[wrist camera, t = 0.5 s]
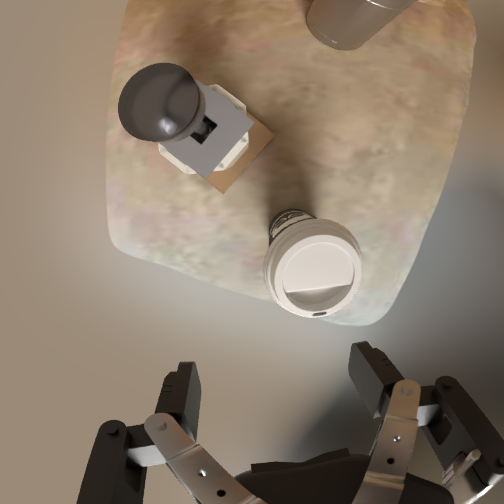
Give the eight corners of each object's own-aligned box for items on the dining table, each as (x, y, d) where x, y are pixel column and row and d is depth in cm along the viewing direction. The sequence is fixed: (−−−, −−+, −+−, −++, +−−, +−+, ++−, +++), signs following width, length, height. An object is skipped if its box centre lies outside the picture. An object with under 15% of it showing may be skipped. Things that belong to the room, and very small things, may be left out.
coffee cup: (249, 255, 38) (250, 313, 24) (269, 188, 35) (284, 209, 21) (312, 271, 39) (344, 332, 25) (335, 209, 36) (385, 242, 22)
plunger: (203, 95, 21) (155, 32, 8) (244, 127, 22) (241, 87, 9) (168, 136, 22) (85, 119, 9) (208, 168, 23) (162, 181, 10)
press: (208, 84, 30) (184, 41, 16) (274, 135, 33) (292, 120, 19) (160, 142, 32) (108, 135, 19) (223, 193, 35) (208, 216, 21)
